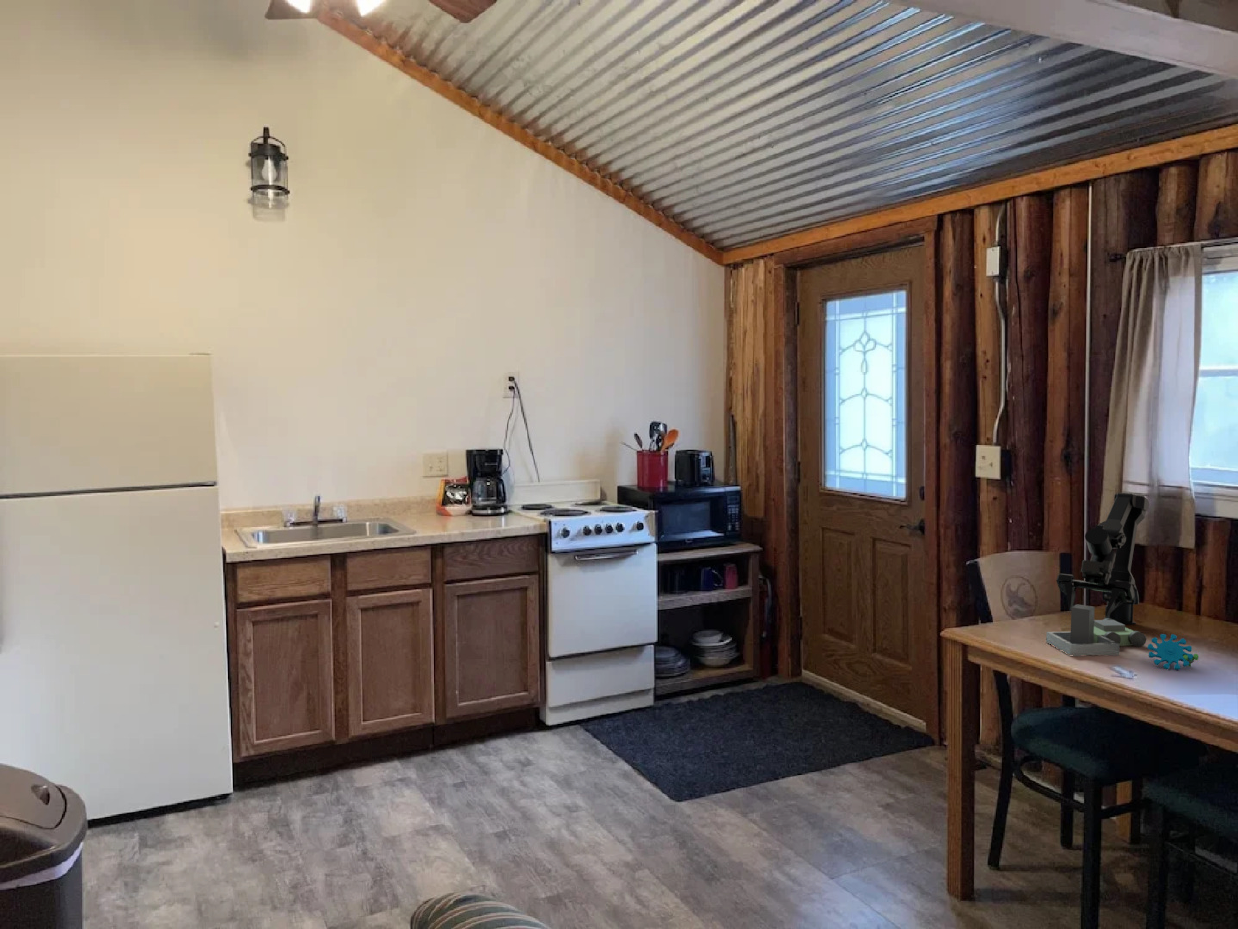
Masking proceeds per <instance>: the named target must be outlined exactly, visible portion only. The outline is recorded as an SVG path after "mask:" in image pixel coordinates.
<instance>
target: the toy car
mask: <svg viewBox="0 0 1238 929" xmlns="http://www.w3.org/2000/svg"><path fill="white" fill-rule="evenodd" d="M1104 618H1105V617H1104ZM1104 618H1103V619H1094V638H1093V643H1098V636H1099V635H1102V636H1104V637H1106V638H1108V639H1110V640H1112V641H1114V642H1116V643H1118V644H1120V646H1134V647H1136V648H1140V647H1143V646H1145V645H1146V643H1147V636H1146V634H1145V633H1143V632H1141V631H1138V630H1133V629H1131V628H1128V627H1126V624H1122V623H1119V622H1117V621H1115V620H1112V619H1110V618H1105V619H1104Z"/></svg>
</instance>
